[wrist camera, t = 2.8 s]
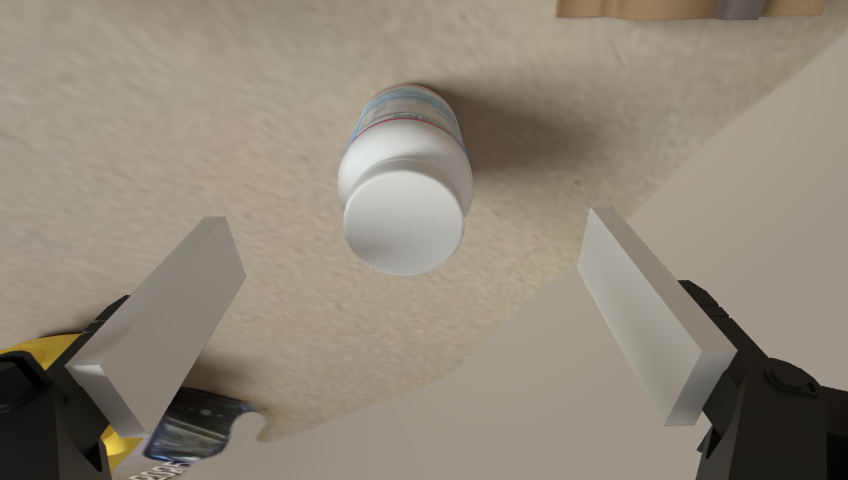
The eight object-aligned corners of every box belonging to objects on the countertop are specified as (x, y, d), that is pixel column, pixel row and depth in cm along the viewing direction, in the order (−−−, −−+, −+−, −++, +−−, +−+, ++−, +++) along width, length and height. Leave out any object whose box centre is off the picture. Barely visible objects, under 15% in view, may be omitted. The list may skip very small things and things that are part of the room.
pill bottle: (425, 194, 26) (429, 312, 17) (342, 148, 25) (296, 252, 15) (478, 116, 24) (518, 206, 14) (389, 58, 22) (368, 118, 12)
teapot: (-8, 369, 36) (-143, 493, 27) (23, 284, 30) (-133, 405, 22) (147, 423, 41) (75, 543, 32) (197, 359, 35) (127, 481, 27)
